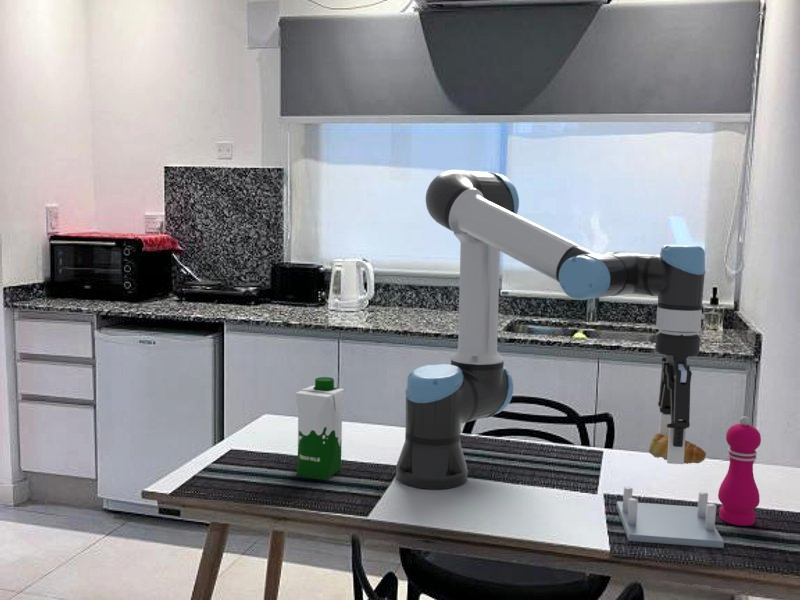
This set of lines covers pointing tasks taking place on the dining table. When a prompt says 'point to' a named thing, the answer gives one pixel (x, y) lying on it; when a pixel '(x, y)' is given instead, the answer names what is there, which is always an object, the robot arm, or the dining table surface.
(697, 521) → the tray
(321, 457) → the milk carton
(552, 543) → the dining table surface
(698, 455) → the pastry
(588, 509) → the dining table surface
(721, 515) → the pepper mill
